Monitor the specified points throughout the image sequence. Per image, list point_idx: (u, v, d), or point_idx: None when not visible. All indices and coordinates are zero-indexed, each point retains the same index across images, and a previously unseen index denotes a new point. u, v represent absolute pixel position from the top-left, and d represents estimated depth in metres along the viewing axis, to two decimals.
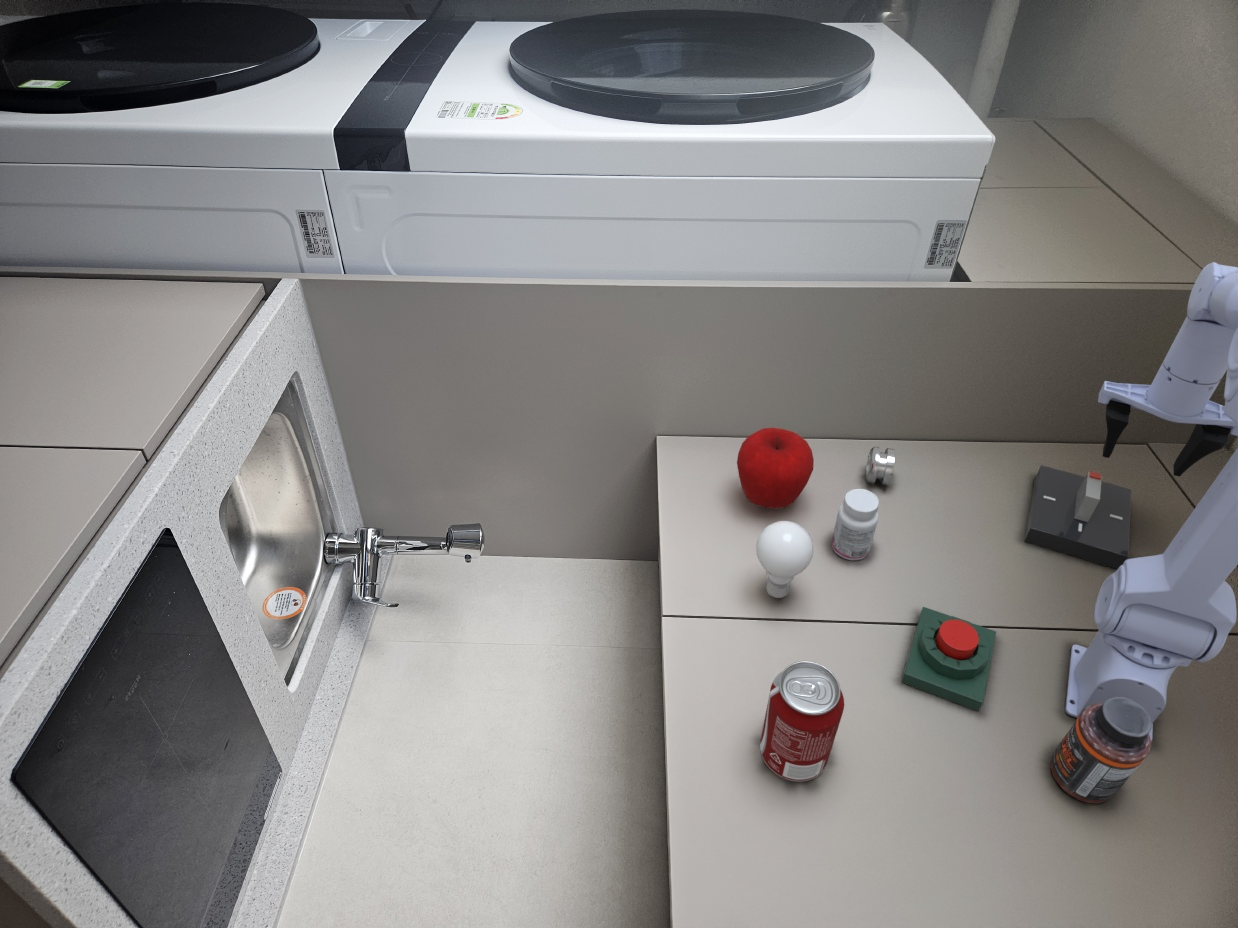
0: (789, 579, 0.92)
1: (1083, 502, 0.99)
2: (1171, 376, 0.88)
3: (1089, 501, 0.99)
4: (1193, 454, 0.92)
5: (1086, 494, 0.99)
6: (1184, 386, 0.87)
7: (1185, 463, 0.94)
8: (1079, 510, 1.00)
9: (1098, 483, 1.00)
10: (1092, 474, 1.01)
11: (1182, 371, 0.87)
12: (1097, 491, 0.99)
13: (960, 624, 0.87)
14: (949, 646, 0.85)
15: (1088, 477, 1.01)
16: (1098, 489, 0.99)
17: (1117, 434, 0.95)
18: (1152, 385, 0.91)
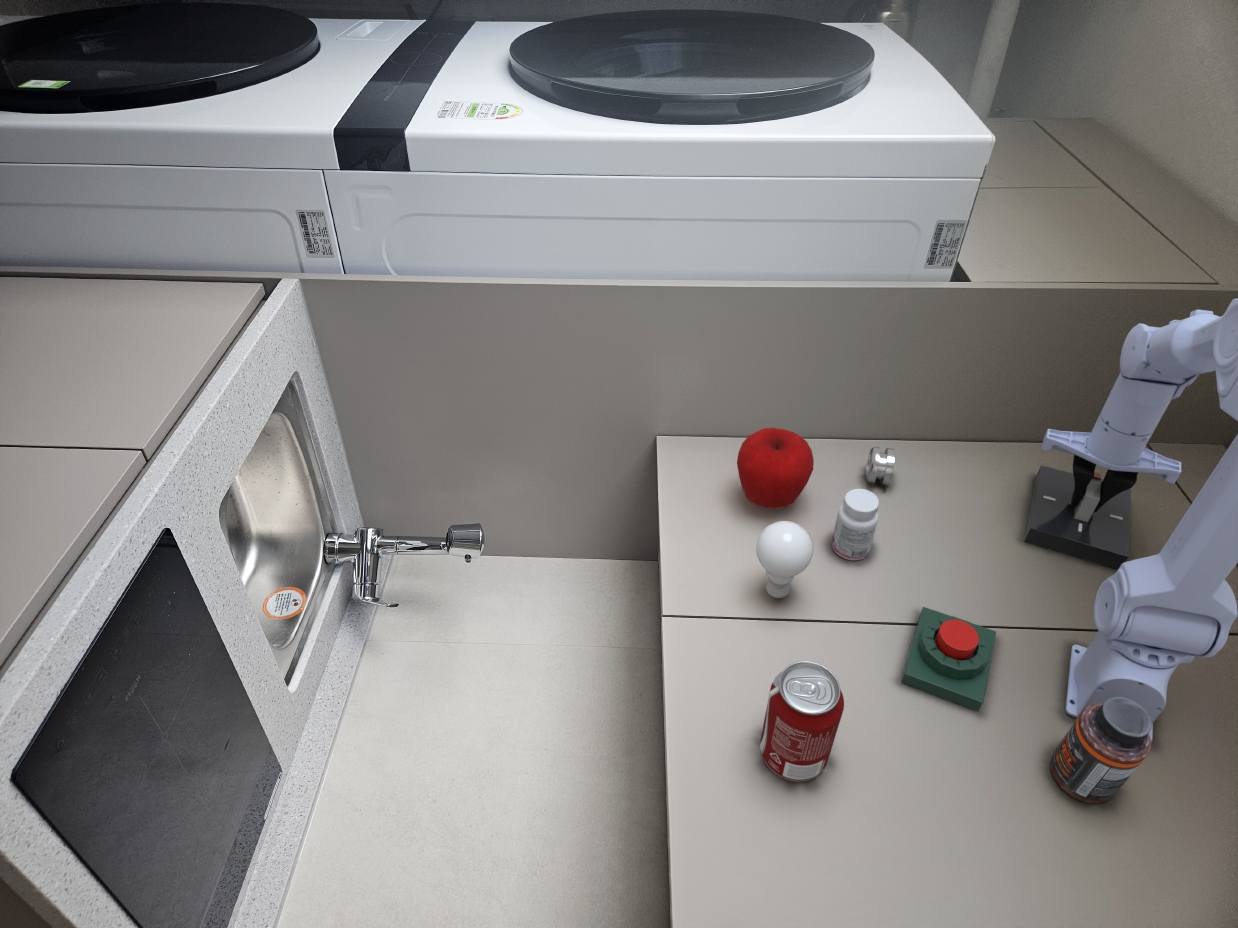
0: (789, 579, 0.92)
1: (1083, 502, 0.99)
2: (1107, 427, 0.93)
3: (1089, 501, 0.99)
4: (1106, 492, 0.98)
5: (1086, 494, 0.99)
6: (1119, 437, 0.92)
7: (1100, 500, 0.99)
8: (1079, 510, 1.00)
9: (1098, 483, 1.00)
10: None
11: (1120, 425, 0.91)
12: (1097, 491, 0.99)
13: (960, 624, 0.87)
14: (949, 646, 0.85)
15: None
16: (1098, 489, 0.99)
17: (1084, 485, 0.99)
18: (1091, 434, 0.96)
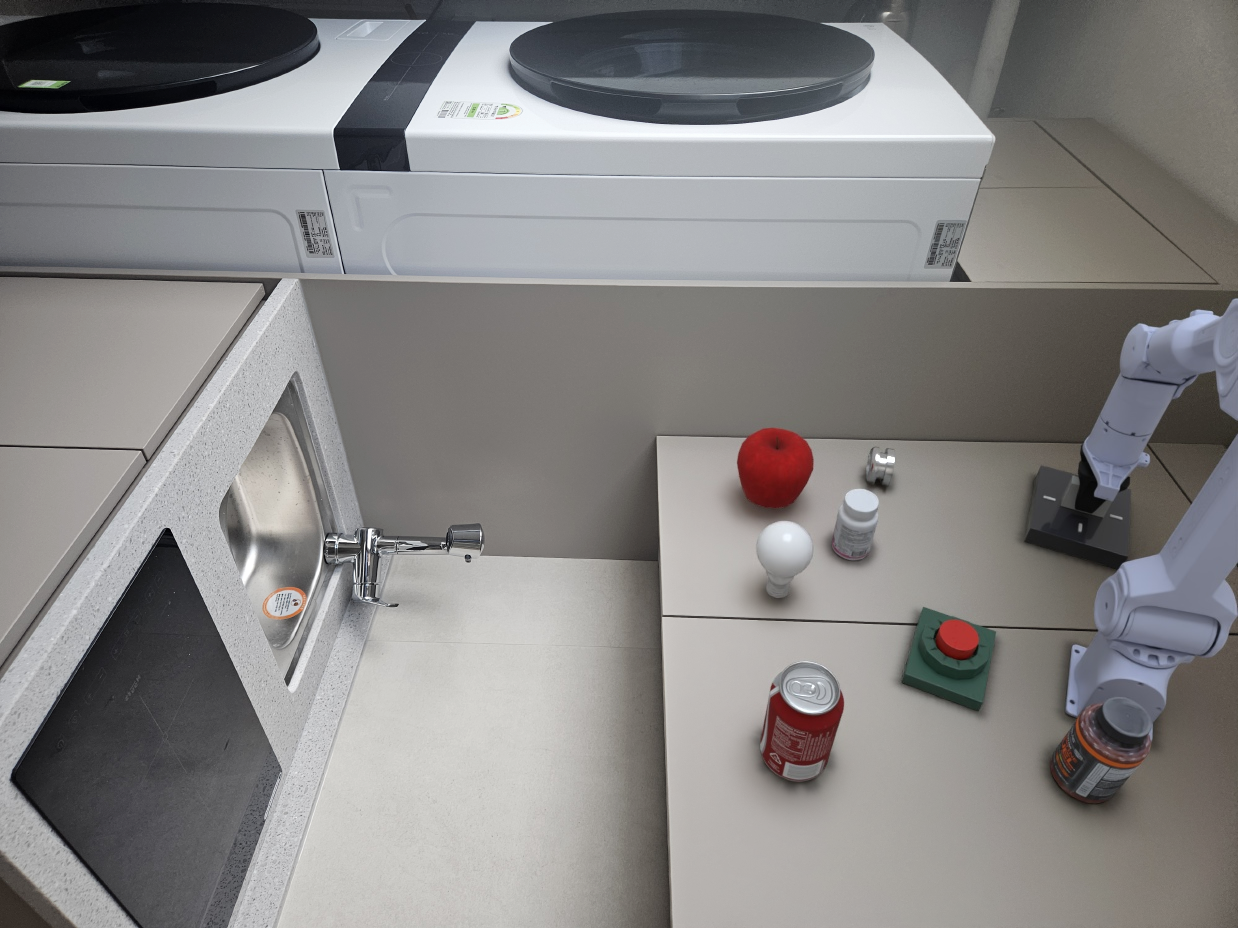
0: (789, 579, 0.92)
1: (1069, 482, 1.02)
2: None
3: (1070, 482, 1.01)
4: None
5: (1075, 476, 1.01)
6: (1099, 416, 0.95)
7: (1077, 492, 1.00)
8: (1065, 490, 1.03)
9: None
10: None
11: (1120, 425, 0.91)
12: None
13: (960, 624, 0.87)
14: (949, 646, 0.85)
15: None
16: None
17: None
18: None
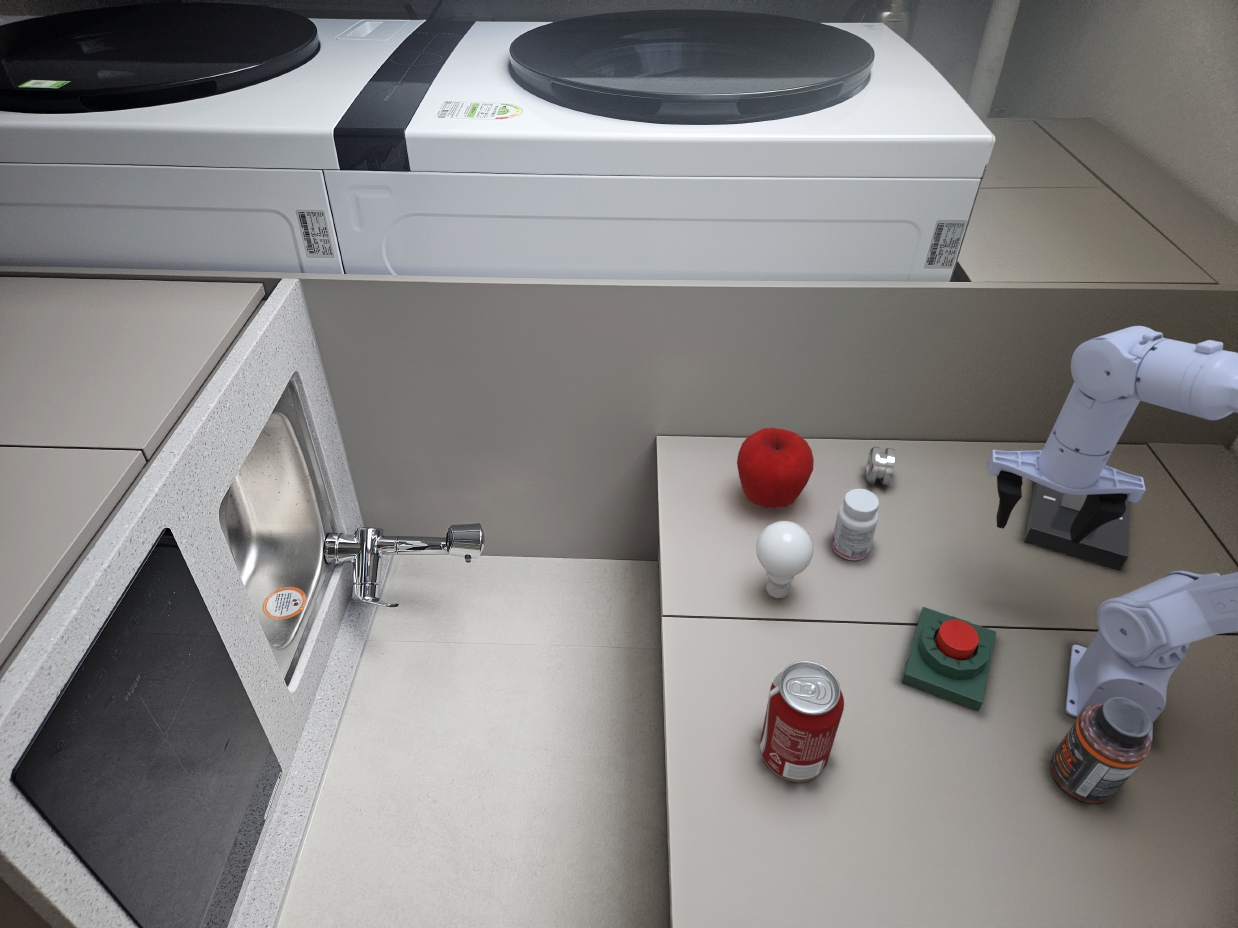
0: (789, 579, 0.92)
1: None
2: (1063, 447, 0.79)
3: None
4: (1091, 523, 0.84)
5: None
6: (1078, 458, 0.79)
7: (1083, 531, 0.86)
8: None
9: None
10: None
11: (1095, 448, 0.77)
12: None
13: (960, 624, 0.87)
14: (949, 646, 0.85)
15: None
16: None
17: (1011, 506, 0.86)
18: (1043, 454, 0.82)
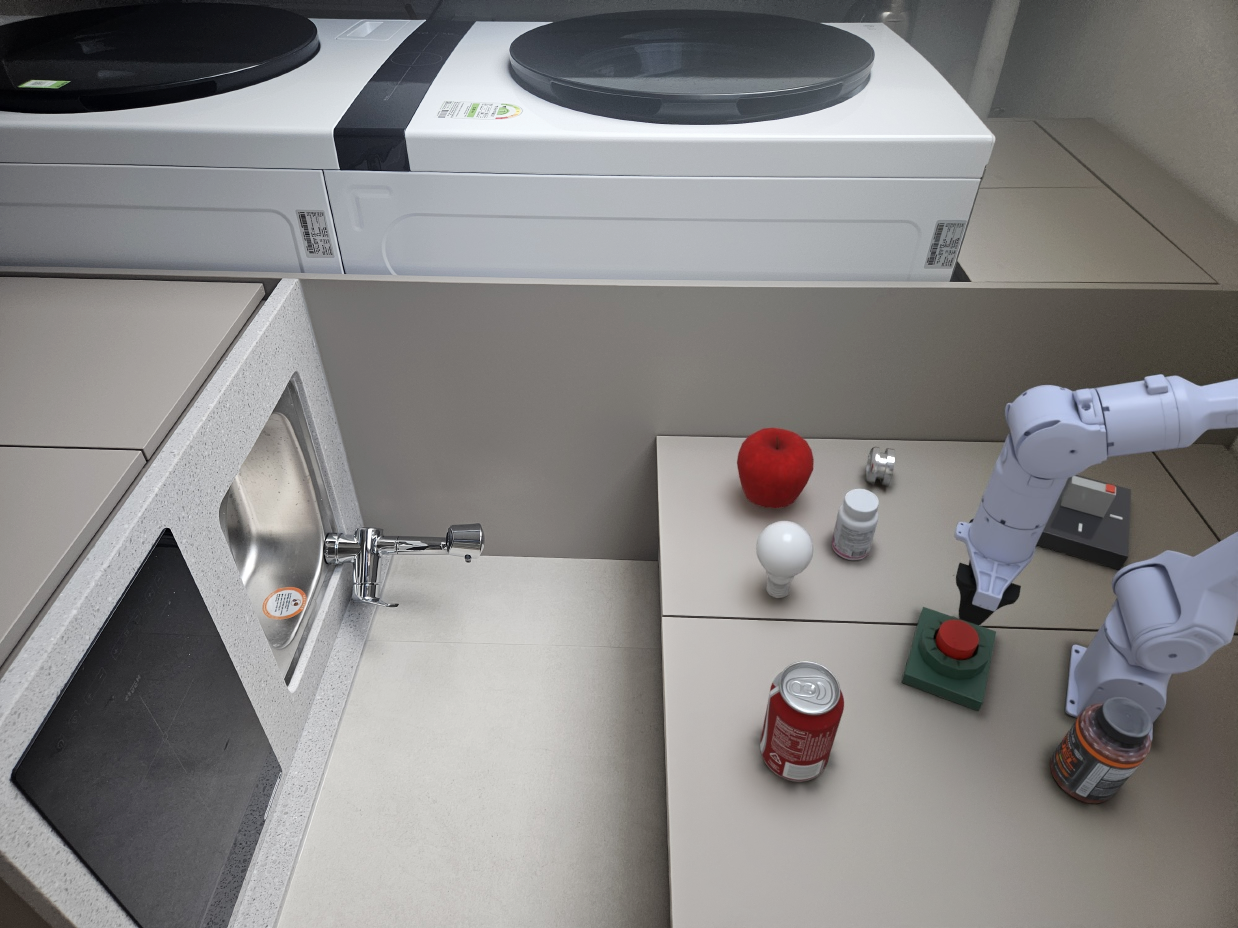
0: (789, 579, 0.92)
1: (1069, 482, 1.02)
2: (1036, 530, 0.71)
3: (1070, 482, 1.01)
4: None
5: (1075, 476, 1.01)
6: (1045, 525, 0.72)
7: None
8: (1065, 490, 1.03)
9: (1098, 488, 0.99)
10: (1110, 486, 0.99)
11: (1049, 515, 0.71)
12: (1083, 484, 1.00)
13: (960, 624, 0.87)
14: (949, 646, 0.85)
15: (1104, 484, 1.00)
16: (1088, 486, 1.00)
17: None
18: (1005, 550, 0.73)
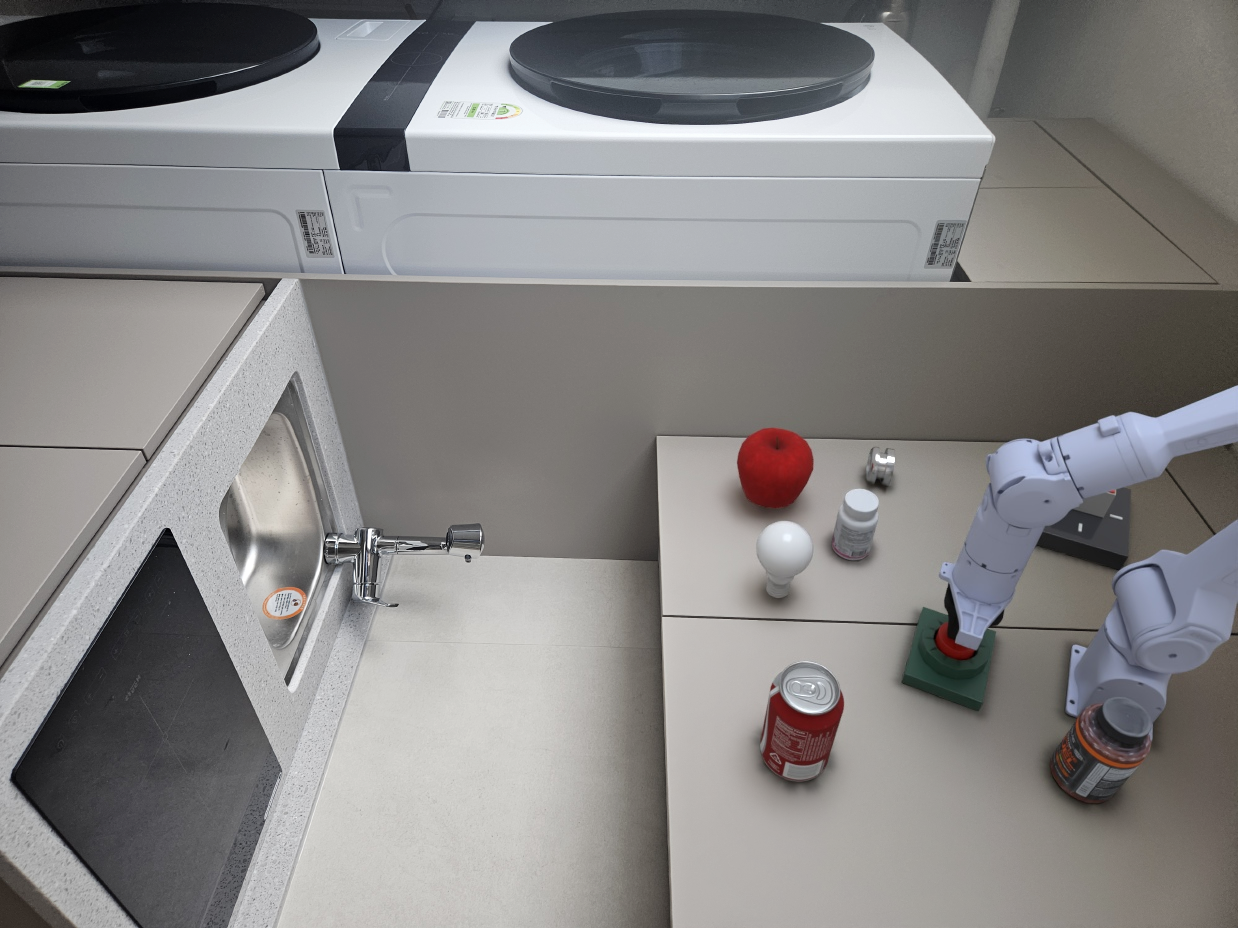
0: (789, 579, 0.92)
1: None
2: (1015, 573, 0.75)
3: None
4: None
5: None
6: (1024, 568, 0.76)
7: None
8: None
9: None
10: None
11: (1028, 559, 0.75)
12: None
13: None
14: (948, 648, 0.85)
15: None
16: None
17: None
18: (986, 591, 0.77)
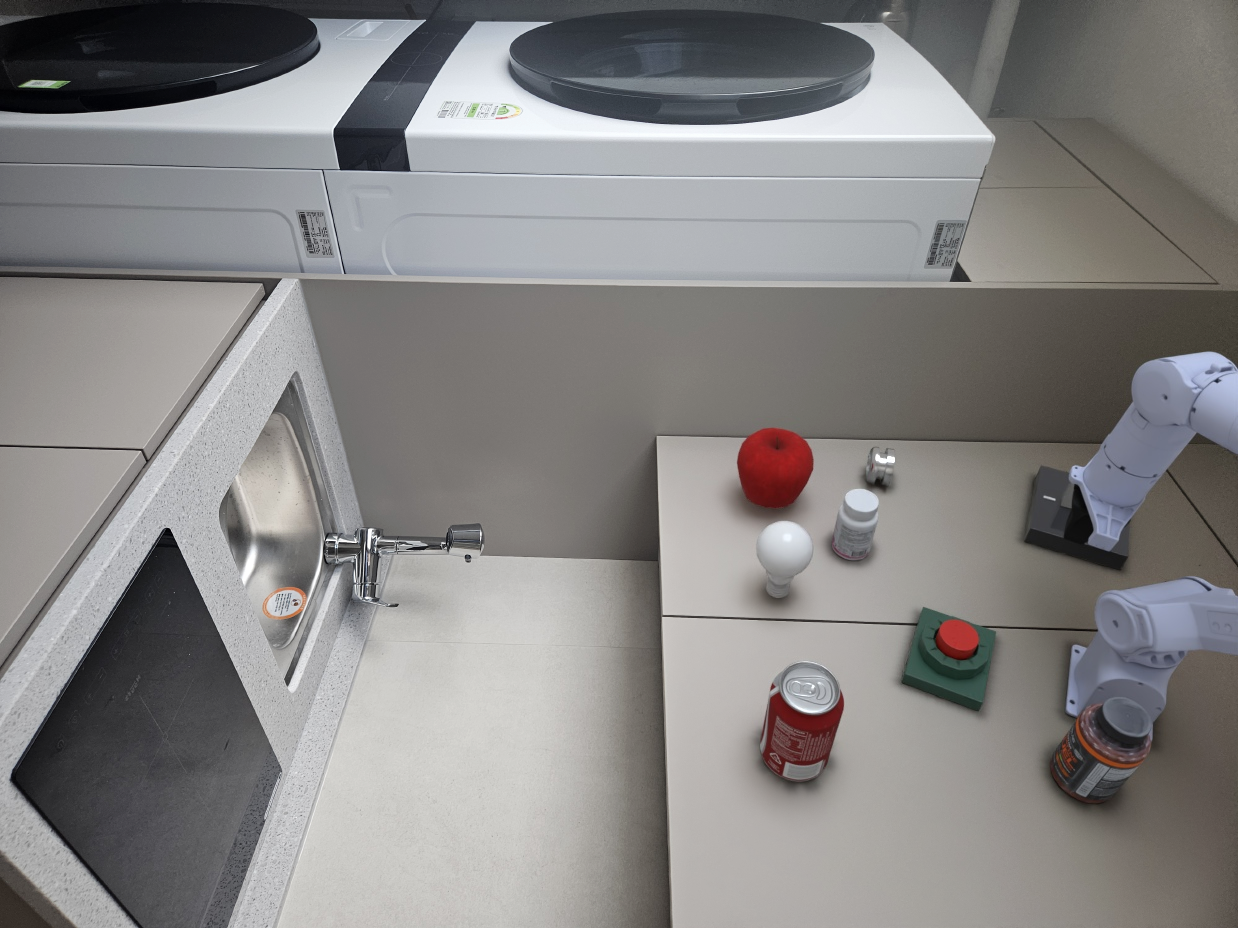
0: (789, 579, 0.92)
1: (1069, 482, 1.02)
2: (1156, 477, 0.76)
3: (1070, 482, 1.01)
4: None
5: None
6: None
7: None
8: (1065, 490, 1.03)
9: None
10: None
11: (1142, 470, 0.75)
12: None
13: (960, 624, 0.87)
14: (949, 646, 0.85)
15: None
16: None
17: None
18: (1122, 495, 0.78)
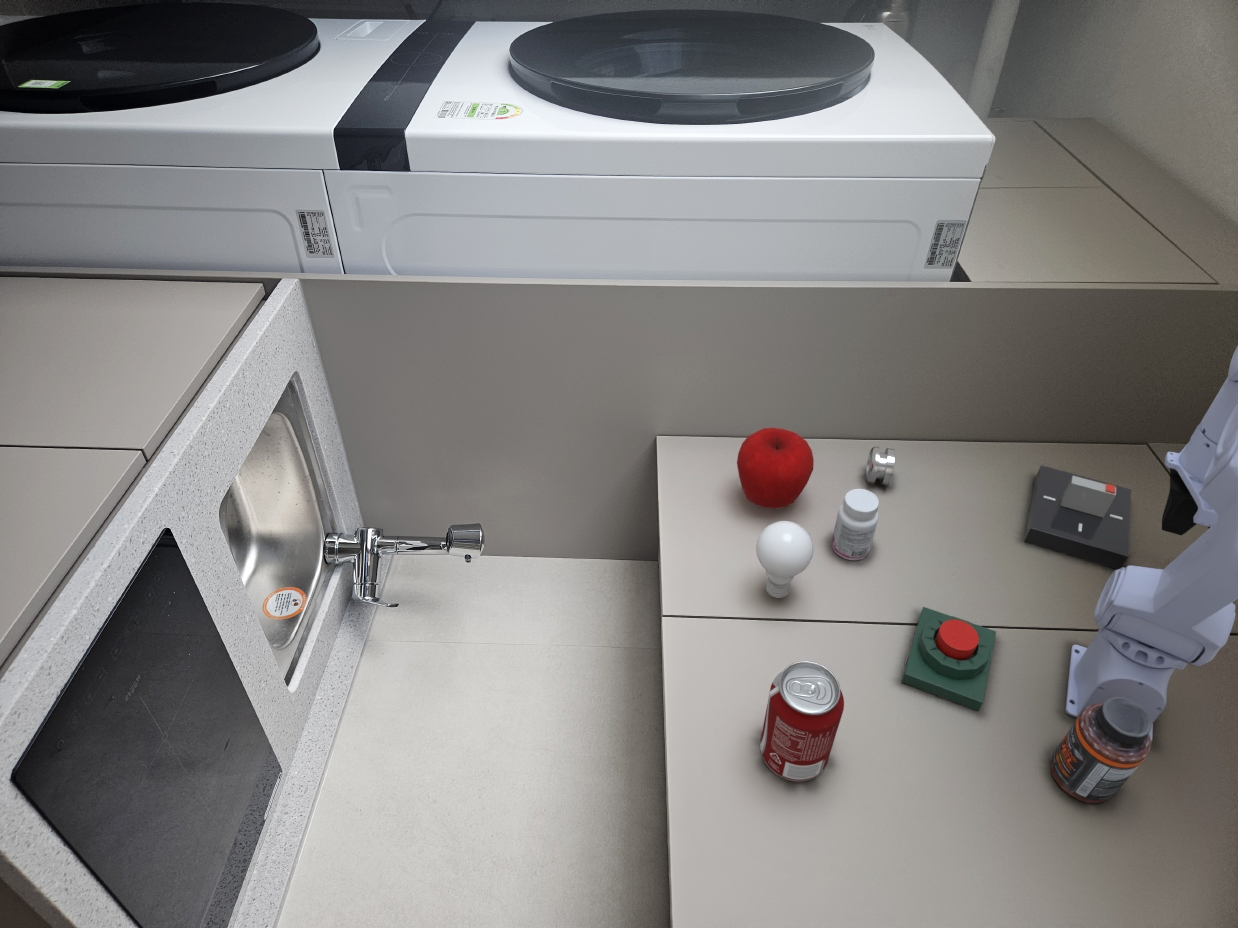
0: (789, 579, 0.92)
1: (1069, 482, 1.02)
2: None
3: (1070, 482, 1.01)
4: None
5: (1075, 476, 1.01)
6: None
7: None
8: (1065, 490, 1.03)
9: (1098, 488, 0.99)
10: (1110, 486, 0.99)
11: (1217, 435, 0.78)
12: (1083, 484, 1.00)
13: (960, 624, 0.87)
14: (949, 646, 0.85)
15: (1104, 484, 1.00)
16: (1088, 486, 1.00)
17: None
18: None
